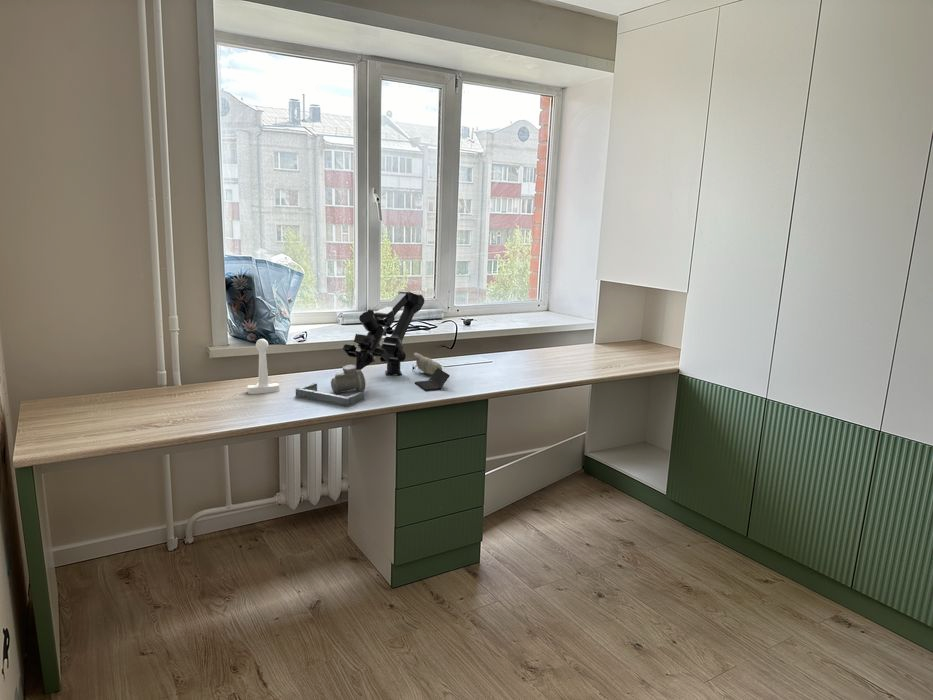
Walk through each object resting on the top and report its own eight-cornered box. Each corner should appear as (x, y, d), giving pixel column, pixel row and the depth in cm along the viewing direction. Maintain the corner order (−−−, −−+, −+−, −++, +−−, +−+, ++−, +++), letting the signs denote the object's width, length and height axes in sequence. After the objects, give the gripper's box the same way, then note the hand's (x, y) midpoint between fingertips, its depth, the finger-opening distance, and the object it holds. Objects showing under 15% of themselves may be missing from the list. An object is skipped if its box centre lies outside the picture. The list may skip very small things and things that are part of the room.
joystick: (248, 394, 228) (246, 340, 224) (246, 389, 235) (244, 336, 231) (280, 391, 233) (278, 339, 229) (276, 386, 240) (275, 335, 236)
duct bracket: (313, 390, 237) (313, 382, 236) (364, 399, 227) (364, 391, 226) (295, 396, 228) (295, 388, 227) (348, 407, 218) (348, 398, 217)
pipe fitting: (360, 385, 243) (358, 361, 240) (367, 392, 236) (365, 367, 233) (330, 392, 238) (327, 367, 234) (336, 399, 231) (333, 373, 228)
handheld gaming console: (409, 380, 249) (426, 358, 250) (422, 389, 254) (438, 368, 255) (425, 392, 240) (443, 369, 241) (438, 402, 245) (455, 379, 246)
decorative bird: (435, 379, 258) (435, 361, 257) (409, 371, 271) (409, 353, 269) (445, 377, 262) (446, 359, 261) (420, 369, 275) (420, 351, 273)
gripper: (345, 323, 246) (327, 355, 238) (385, 328, 238) (368, 362, 230) (357, 340, 254) (340, 371, 247) (396, 345, 246) (380, 378, 239)
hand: (357, 370), depth 240 cm, fingers closed
